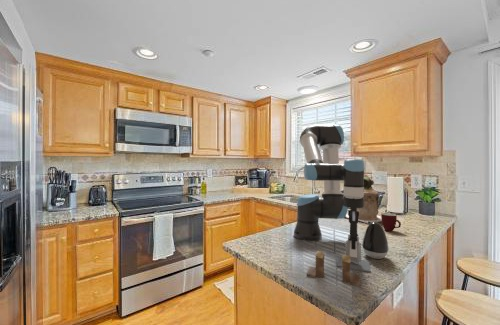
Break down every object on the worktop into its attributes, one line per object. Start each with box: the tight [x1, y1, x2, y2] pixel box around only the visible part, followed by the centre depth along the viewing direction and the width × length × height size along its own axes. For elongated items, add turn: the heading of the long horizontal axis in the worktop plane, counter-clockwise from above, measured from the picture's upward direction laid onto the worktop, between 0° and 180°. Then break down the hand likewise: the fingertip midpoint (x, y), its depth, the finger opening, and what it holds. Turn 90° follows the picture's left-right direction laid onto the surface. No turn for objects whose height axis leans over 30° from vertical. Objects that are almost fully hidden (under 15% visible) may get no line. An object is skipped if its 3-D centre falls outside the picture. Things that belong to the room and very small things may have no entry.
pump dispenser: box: [361, 221, 389, 260], centre depth 104 cm, size 10×10×15 cm
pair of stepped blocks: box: [306, 250, 361, 287], centre depth 85 cm, size 18×7×8 cm, turn 67°
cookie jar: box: [344, 176, 382, 225], centre depth 175 cm, size 25×25×32 cm
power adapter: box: [345, 234, 362, 263], centre depth 95 cm, size 3×5×12 cm, turn 40°
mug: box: [380, 212, 402, 232], centre depth 143 cm, size 11×8×10 cm
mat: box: [336, 256, 372, 273], centre depth 95 cm, size 12×10×1 cm
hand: (353, 254), depth 95 cm, fingers closed on power adapter, 5 cm apart
